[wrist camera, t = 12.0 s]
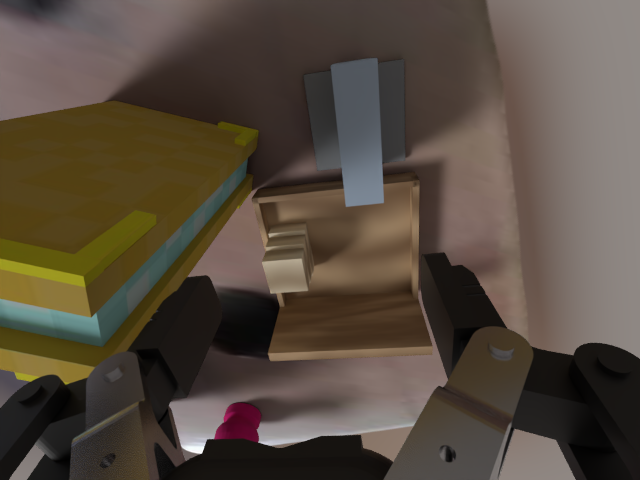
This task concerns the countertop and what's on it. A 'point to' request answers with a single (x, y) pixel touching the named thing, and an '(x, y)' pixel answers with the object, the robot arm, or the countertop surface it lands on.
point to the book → (105, 226)
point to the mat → (326, 123)
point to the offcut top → (286, 270)
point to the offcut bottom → (293, 230)
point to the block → (359, 130)
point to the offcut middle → (290, 246)
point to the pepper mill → (240, 423)
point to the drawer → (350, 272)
